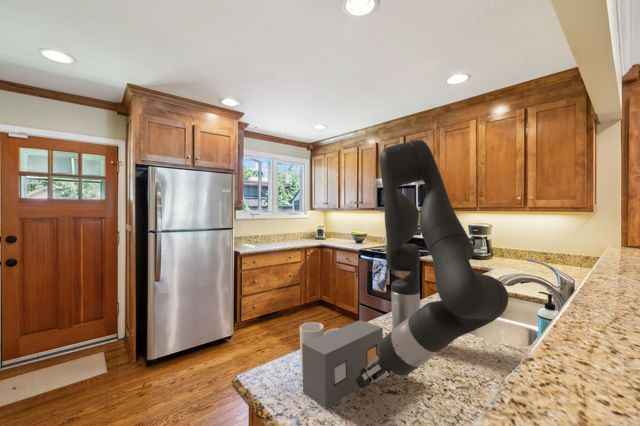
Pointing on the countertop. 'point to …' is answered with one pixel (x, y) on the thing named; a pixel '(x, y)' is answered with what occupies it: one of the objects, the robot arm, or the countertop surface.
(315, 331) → the mug
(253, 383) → the countertop surface
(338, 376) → the white cube
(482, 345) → the countertop surface
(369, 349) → the orange button
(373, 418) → the countertop surface
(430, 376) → the countertop surface
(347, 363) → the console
